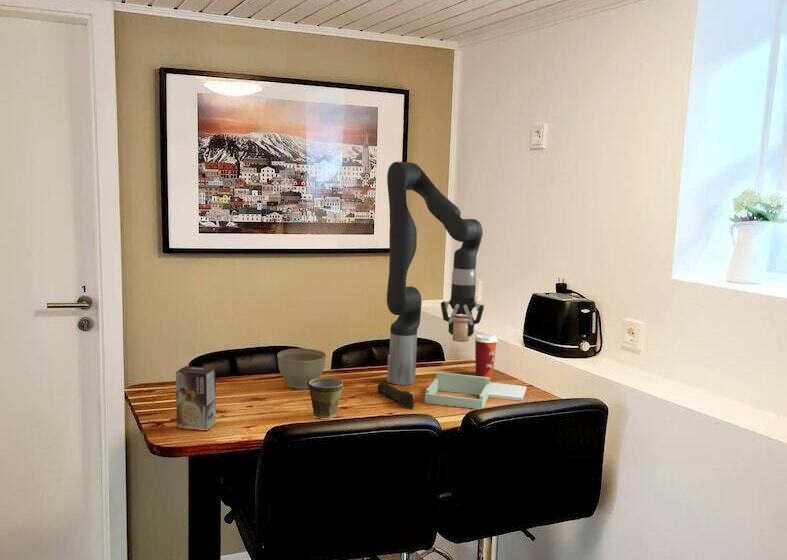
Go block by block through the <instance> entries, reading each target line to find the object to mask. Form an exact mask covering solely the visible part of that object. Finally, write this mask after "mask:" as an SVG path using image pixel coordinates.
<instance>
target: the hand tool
mask: <svg viewBox="0 0 787 560" xmlns="http://www.w3.org/2000/svg"><path fill="white" fill-rule="evenodd" d="M377 392H378V393H379V394H381V395H385V396H387V397H389V398H391V399H392V400H394V401H396V402H398V403H399V405H400V406H402V407H404V408H406V409H411V410H412V409H414V402H415V399H414V394H413V393H411V392H409V391H406V390H400V389H398V388H396V387H394V386H392V385H391V384H389V382H387V381H381V382H380V383H378V384H377Z"/></svg>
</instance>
